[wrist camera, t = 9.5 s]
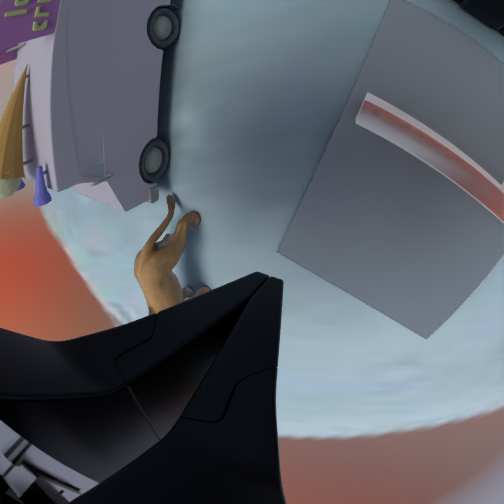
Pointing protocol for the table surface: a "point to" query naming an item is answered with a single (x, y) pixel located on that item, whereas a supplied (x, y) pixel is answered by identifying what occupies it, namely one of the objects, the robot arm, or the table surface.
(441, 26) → the board
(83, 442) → the robot arm
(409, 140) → the gate panel
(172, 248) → the lion figurine
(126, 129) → the toy vehicle
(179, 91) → the table surface
